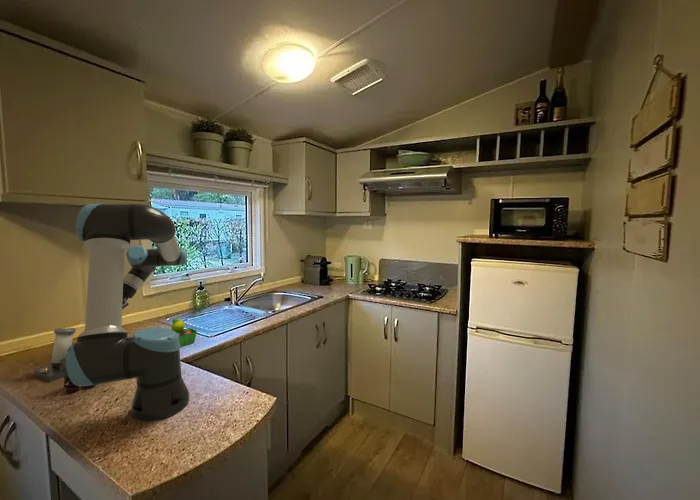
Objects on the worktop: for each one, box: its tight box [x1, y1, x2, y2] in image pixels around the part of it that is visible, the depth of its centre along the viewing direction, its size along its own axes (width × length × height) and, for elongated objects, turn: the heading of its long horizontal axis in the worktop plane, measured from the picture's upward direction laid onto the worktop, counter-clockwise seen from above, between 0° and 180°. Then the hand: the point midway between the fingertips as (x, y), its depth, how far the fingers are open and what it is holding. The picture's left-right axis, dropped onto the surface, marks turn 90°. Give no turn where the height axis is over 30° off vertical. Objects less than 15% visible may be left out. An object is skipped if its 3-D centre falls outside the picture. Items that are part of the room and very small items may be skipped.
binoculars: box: [63, 365, 95, 395], centre depth 109 cm, size 9×11×10 cm
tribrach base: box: [33, 355, 66, 383], centre depth 120 cm, size 11×11×6 cm
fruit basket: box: [171, 317, 198, 347], centre depth 146 cm, size 11×9×11 cm
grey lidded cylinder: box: [50, 327, 77, 363], centre depth 121 cm, size 6×6×12 cm
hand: (88, 336), depth 129 cm, fingers closed
